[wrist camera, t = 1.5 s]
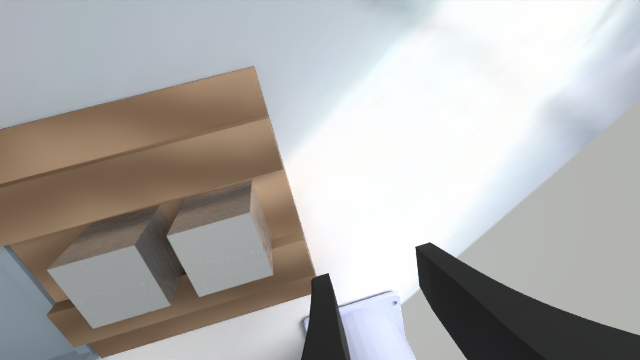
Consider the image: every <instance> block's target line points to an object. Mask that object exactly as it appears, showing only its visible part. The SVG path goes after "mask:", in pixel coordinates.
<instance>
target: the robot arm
mask: <svg viewBox="0 0 640 360" xmlns="http://www.w3.org/2000/svg"><path fill="white" fill-rule="evenodd" d="M415 248H416V257H417V267H418V276H419V286H420V288H421V290H422V291H423V293H424V295H425V297H426V299H427V301H428V303H429V304H430V306H431V308H432V310H433V311H434V313H435V314H436V316H437V317H438V319H439V320H440V321H441V323H442V324H443V326H444V327H445V329H446V330H447V331H448V333H449V334H450V335H451V337H452V339H453V340H454V341H455V343H456V344H457V346H458V347H459V349H460V350H461V351H462V353H463V354H464V356H465V357H466V358H467V360H640V335H636V334H633V333H629V332H626V331H623V330H620V329H616V328H613V327H610V326H606V325H603V324H600V323H597V322H594V321H591V320H588V319H585V318H582V317H580V316H577V315H574V314H571V313H569V312H566V311H563V310H560V309H558V308H555V307H552V306H550V305H548V304H545V303H542V302H540V301H538V300H536V299H533V298H531V297H529V296H527V295H524V294H522V293H520V292H518V291H516V290H513V289H511V288H509V287H507V286H505V285H503V284H501V283H499V282H497V281H495V280H494V279H492V278H490V277H488V276H486V275H484V274H482V273H480V272H479V271H477V270H475V269H474V268H472V267H470V266H468V265H467V264H465V263H463V262H461V261H460V260H458V259H457V258H455V257H453V256H452V255H450V254H448V253H447V252H445V251H444V250H442V249H440V248H439V247H437V246H435V245H434V244H432V243H427V244H423V245H420V246H417V247H415ZM393 301H394V302H393ZM304 326H305V329H306V332H307V334H306V339H305V344H304V349H303V354H302V358H301V360H416V358H415V356H414V354H413V352H412V350H411V348H410V346H409V344H408V342H407V340H406V338H405V333H404V327H403V320H402V313H401V306H400V299H399V295H398V293H397V292H396V291H391V292H388V293H384V294H381V295H378V296H375V297H372V298H368V299H365V300H362V301H359V302H356V303H352V304H349V305H346V306H343V307H339V308H338V304H337V301H336V297H335V293H334V290H333V286H332V283H331V280H330V276H329V273H327V274H324V275H321V276H317V277H314V278H313V279H312V280H311V306H310V315H309V317H308V318H306V319H305V320H304Z"/></svg>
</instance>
